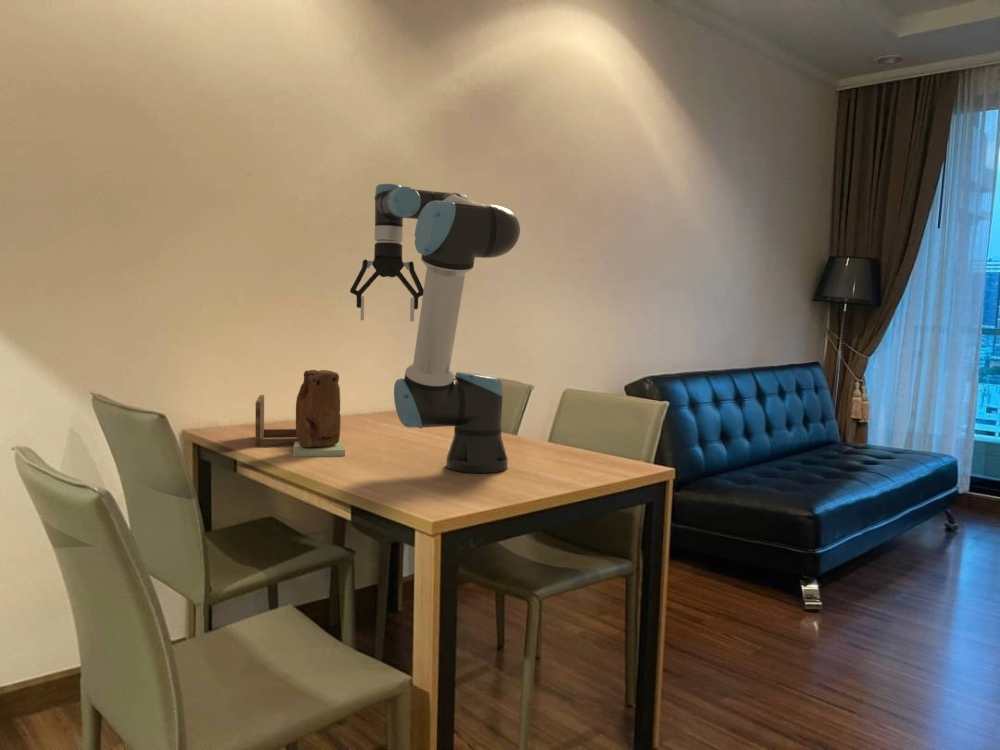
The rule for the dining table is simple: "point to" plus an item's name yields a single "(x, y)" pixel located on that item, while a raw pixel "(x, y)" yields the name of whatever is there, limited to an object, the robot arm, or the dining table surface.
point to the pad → (319, 450)
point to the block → (318, 409)
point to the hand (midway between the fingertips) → (387, 321)
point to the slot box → (270, 430)
